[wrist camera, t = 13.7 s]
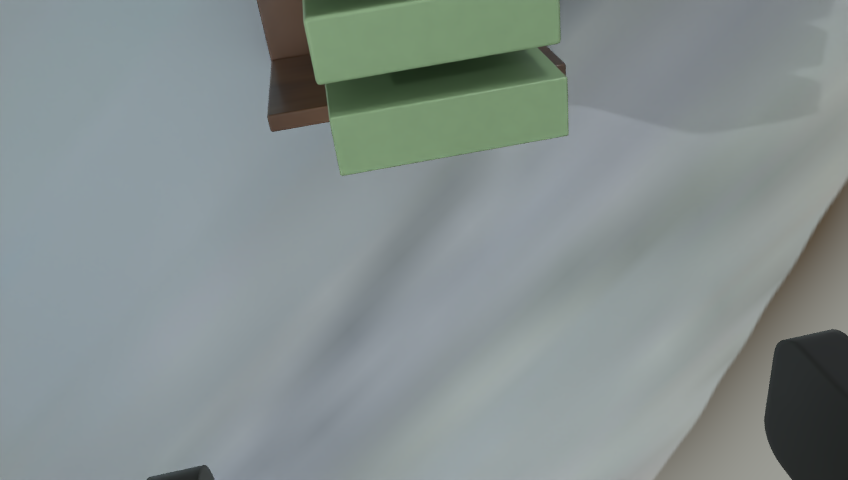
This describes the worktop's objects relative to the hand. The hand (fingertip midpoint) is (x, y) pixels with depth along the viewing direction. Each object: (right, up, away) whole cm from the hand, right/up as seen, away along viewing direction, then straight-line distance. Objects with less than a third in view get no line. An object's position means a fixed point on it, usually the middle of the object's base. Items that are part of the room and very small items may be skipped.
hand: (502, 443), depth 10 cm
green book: (-2, +12, +18) cm, 22 cm away
